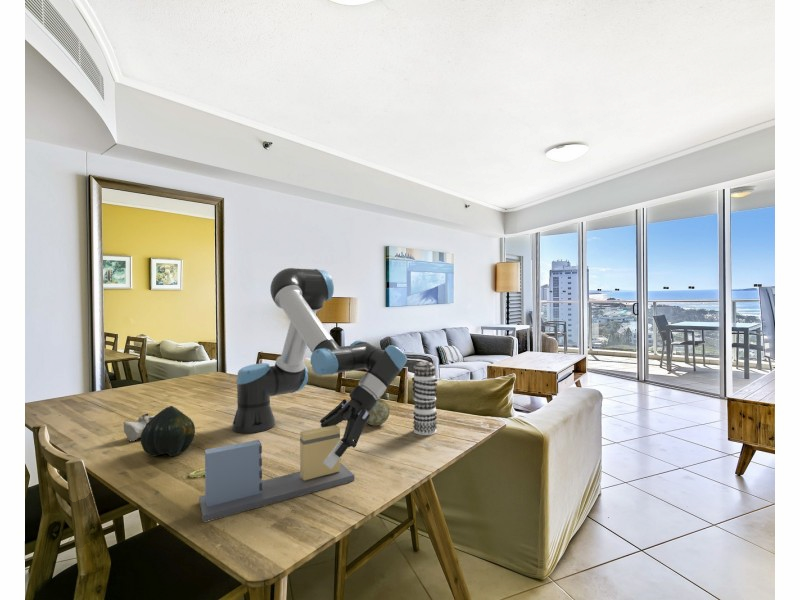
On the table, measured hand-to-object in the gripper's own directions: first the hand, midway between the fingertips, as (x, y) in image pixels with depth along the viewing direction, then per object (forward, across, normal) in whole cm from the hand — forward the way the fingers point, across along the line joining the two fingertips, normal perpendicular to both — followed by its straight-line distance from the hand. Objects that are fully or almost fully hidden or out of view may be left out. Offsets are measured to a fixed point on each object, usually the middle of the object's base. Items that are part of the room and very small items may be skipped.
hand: (317, 456), depth 103 cm
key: (+22, +20, +12) cm, 32 cm away
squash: (+28, +45, +19) cm, 56 cm away
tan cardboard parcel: (+3, 0, -4) cm, 5 cm away
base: (+11, 0, +2) cm, 12 cm away
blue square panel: (+18, 0, +11) cm, 21 cm away
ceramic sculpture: (+33, +66, +23) cm, 77 cm away
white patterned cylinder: (-28, +16, -38) cm, 50 cm away
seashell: (-21, +34, -30) cm, 50 cm away
